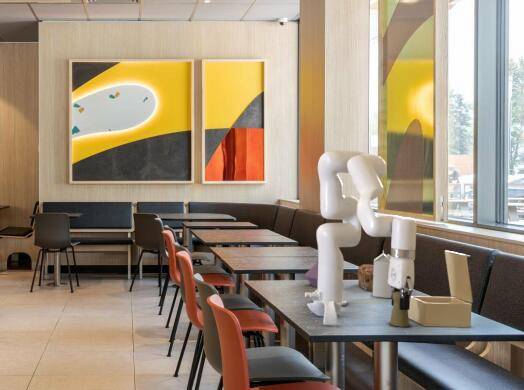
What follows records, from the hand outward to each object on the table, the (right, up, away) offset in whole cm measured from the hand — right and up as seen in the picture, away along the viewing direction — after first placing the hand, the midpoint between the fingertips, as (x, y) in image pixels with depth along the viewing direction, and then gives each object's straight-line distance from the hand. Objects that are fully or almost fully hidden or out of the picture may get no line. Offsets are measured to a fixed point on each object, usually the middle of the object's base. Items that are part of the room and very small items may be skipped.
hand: (400, 307), depth 211 cm
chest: (+16, -6, +6) cm, 18 cm away
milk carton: (+15, -5, +53) cm, 55 cm away
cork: (0, -6, 0) cm, 6 cm away
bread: (+18, -5, +72) cm, 75 cm away
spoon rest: (-23, -6, +8) cm, 25 cm away
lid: (+22, +10, +6) cm, 25 cm away
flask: (-4, -4, +76) cm, 76 cm away
